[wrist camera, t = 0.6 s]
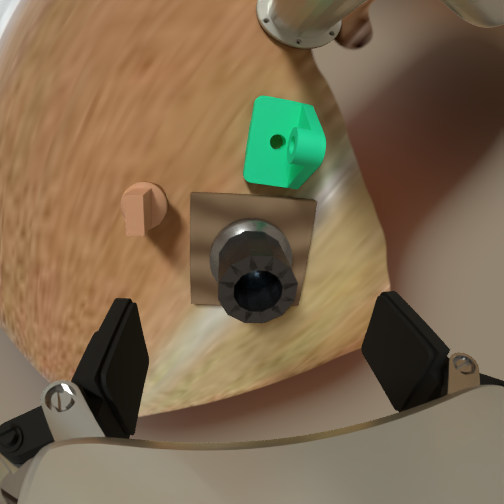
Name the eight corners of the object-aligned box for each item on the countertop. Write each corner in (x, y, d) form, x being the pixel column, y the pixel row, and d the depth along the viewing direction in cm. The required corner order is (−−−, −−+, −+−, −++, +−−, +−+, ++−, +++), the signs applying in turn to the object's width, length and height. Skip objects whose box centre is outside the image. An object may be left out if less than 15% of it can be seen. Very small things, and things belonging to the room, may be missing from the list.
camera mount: (254, 96, 34) (265, 85, 25) (307, 107, 35) (334, 100, 26) (241, 178, 39) (247, 194, 30) (293, 185, 40) (314, 203, 31)
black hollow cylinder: (211, 215, 39) (208, 243, 30) (294, 220, 40) (315, 247, 31) (209, 288, 44) (207, 329, 35) (283, 290, 45) (298, 329, 36)
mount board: (191, 191, 39) (190, 194, 37) (313, 199, 41) (316, 202, 40) (191, 298, 46) (191, 303, 45) (296, 300, 48) (298, 305, 47)
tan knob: (130, 176, 37) (108, 189, 29) (172, 176, 38) (159, 189, 30) (132, 218, 39) (112, 240, 31) (172, 219, 40) (160, 241, 32)
